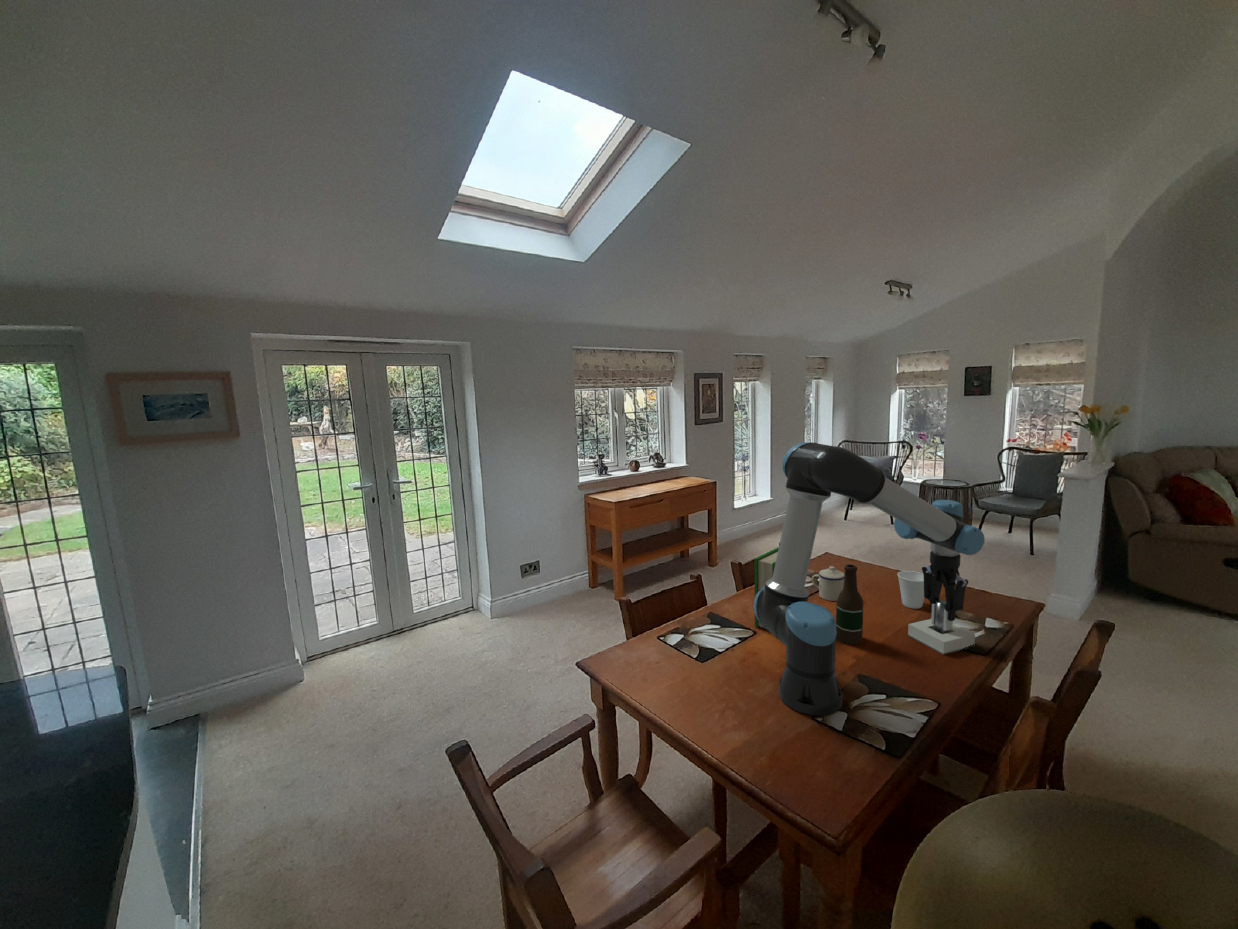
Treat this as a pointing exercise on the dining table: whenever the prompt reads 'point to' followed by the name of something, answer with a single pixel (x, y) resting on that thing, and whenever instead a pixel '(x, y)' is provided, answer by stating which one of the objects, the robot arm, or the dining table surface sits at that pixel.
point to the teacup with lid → (829, 583)
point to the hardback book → (764, 572)
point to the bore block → (940, 637)
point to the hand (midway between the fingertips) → (941, 626)
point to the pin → (940, 616)
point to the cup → (911, 588)
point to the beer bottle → (849, 610)
